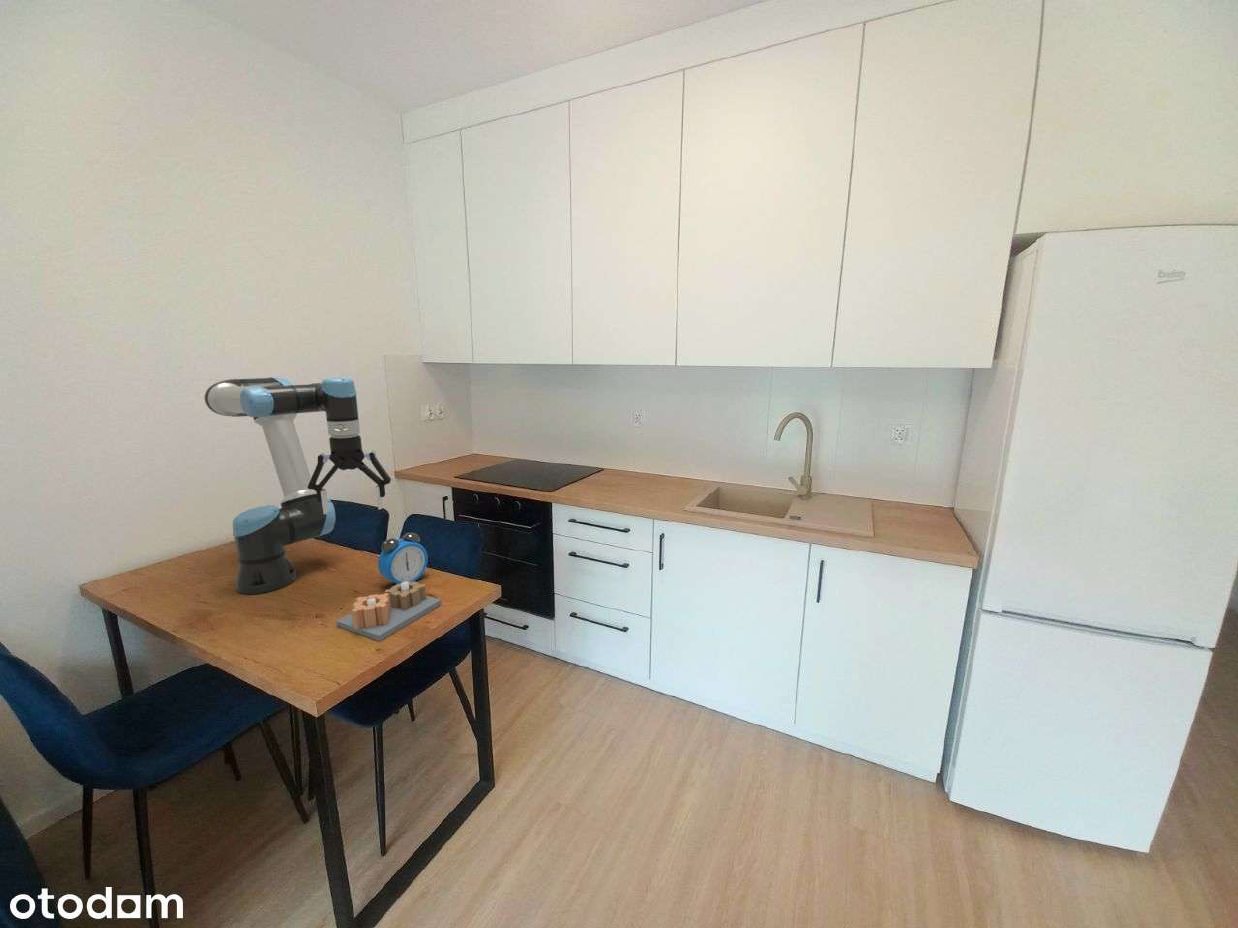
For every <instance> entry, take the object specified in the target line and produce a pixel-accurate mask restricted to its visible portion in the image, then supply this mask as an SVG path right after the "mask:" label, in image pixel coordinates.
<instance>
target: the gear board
mask: <svg viewBox="0 0 1238 928" xmlns="http://www.w3.org/2000/svg"><path fill="white" fill-rule="evenodd" d="M385 593H388V594H390V601H391V610H392V611H391V612H390V613H391V615H390V619H389V623H388V624H386V625H382V624H381V625H377V626H376V627H370V628H366V627H364V628H360V629H358V630H357V629H354V626H353V618H352V612H351V613H349V614H347V615H345V616H343V617H342V618H339V619H337V620H336V621H335V623H336V627H338V628H341V629H343V630H347V631H349V632H351V633H355V634H358V635H360V636H364V637H366V638H369V639H372V640H374V641H377V642H381V641H383V640H384V639H386V638H388V637H389V636H391V635H392V634H395V633H396V632H398V631H400V630H401V629H403V628H404V627H406V626H408V625H410V624H411V623H413V622H415V621H416V620H418V619H420V618H421V617H422V618H423V616H425V615H426V614H429V612H432V611H433V610H435V609H437V608H438V607H440V606H441V605H442V599H439V598H437V597H434V596H433V597H432V596H429V595H427V592H426V584H425V583H423V584H421V583H420V582H417V581H413V582H411V581H410V582H409V580H406V581H404V582H402V583H401V584H395V585H393V586H391V587H390V588H389V589H385V591H384V594H385ZM374 604H376V599H375V598H370V599H368V600H367V606H370V605H374Z"/></svg>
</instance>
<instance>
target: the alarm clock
mask: <svg viewBox="0 0 1238 928" xmlns="http://www.w3.org/2000/svg"><path fill="white" fill-rule="evenodd" d="M420 541H421V539H420V536H419V535H418V534H417V533H416V532H414V531H413V532H407V533H405V534H404V535H403V536H402V537H399V538H398V539H397V538H394V537H393V538H392V537H391V538H387V539H386V540H385V541H383V543H382V545H381V552H380V554H379V557H378V562H377V565H378V567H377V569H378V571H379V573H380V575H381V576H382V577H383V578H384V579H386V580H387V581H390V582H391V583H394V584H395V585H397V584H401V583H402V582H404V581H406V580H409V582H410V581H411V582H413V581H414V582H417V580H420V578H421V576H423V574H424V573H425V570H426V568H427V566H428V560H429V558H428V552H427V550H426V549H425V547H424V546H423V545H421V544H420Z"/></svg>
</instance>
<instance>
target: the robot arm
mask: <svg viewBox="0 0 1238 928" xmlns="http://www.w3.org/2000/svg"><path fill="white" fill-rule="evenodd" d="M203 397H204V403H205V405H206V407H207V409H209V410H210V411H211V412H213V413H214V414H217V415H220V416H225V417H232V418H233V417H235V418H236V417H241V418H242V417H249V418H253V421H254V423H255V424H257V425H259V426H261V427H262V431H263V434H264V436H265V437H264V438H265V441H266V443H267V447H268V449H269V453H270V455H271V459H272V462H273V465H274V469H275V471H276V475H277V477H278V478H277V479H278V481H279V484H280V488H281V491H282V494H283V499H282V500H281V501H280V506H281V508H280V507H278V506H277V505H274V504H269V505H264V506H263V505H262V506H257V507H253V508H251V509H246V510H245V511H242V512H241V513H239V514H237V515H236V516H235V517H234V518H233V519H232V535H233V536H234V542H235V546H236V551H237V552H236V553H237V557H238V563H239V566H238V571H237V573H236V574H237V575H236V580H235V589H236V591H237V593H239V594H243V595H256V594H263V593H269V592H273V591H276V590H279V589H281V588H285V587H286V586H288V585H290V584H292V583H293V582H294V581H295V580H296V579H297V571H296V569H295V567H294V565H293V564H292V562H291V560H290V559H289V558H288V557H289V556H288V555H287V553H286V552H287V551H286V546H289V545H293V544H295V543H296V544H297V543H300V542H303V541H307V540H310V539H314V538H316V539H317V538H319V537H320V536H325V535H327V534H329V533H331V532H332V531H333V529H334V528H335V523H336V509H335V506H334V504H333V502H332V500H331V499H330V498H328V494H327V493H328V492H327V488H324V486H325V485H326V484H327V483H328V481H330V479H331V477H333V475H334V474H335V473H336V472H337V471H338V470H341V471H345V470H350V471H352V470H356V469H358V470H359V471H361V472H362V473H363V474H365V475H366V477H368V478H369V479H370V480H372V482H374V483H375V484H376V487H375V490H376V492H375V493H376V501H377V508H378V509H377V510H382V509H383V508H384V507H383V498H385V496H386V489H385V486H386V485H388V484H389V485H390V483H391V482H392V481H391V480H392V478H391V477H390V475H389V474H388V472H387V471H386V469H385V468H384V467H383V465H382V464H381V463H380V461H379V460H378V457H377V454H376V451H374V450H371V451H370V452H365V453H364V451H363V447H362V446H363V445H362V437H361V436H360V435H359V434H360V433H361V429H360V428H361V427H360V419H359V413H358V412H359V411H358V404H357V403H358V400H357V390H356V387H355V382H354V379H352V378H351V377H327V378H326V377H325V378H323V379H322V381H321V382H317V383H316V382H315V383H309V384H293V383H292V382H291V381H290V380H288V379H287V378H285V377H269V376H268V377H260V378H259V377H257V378H233V379H225V380H221V381H218V382H215V383H214V384H212V385H210V386H209V387H208V388H207V389H206V390H205V392H204V396H203ZM317 412H325V415H326V416H325V417H326V418H325V419H326V424H327V433H328V434H327V435H329V436H330V437H329V438H328V440H329V441H328V442H329V447H330V448H329V449H330V454H325V453H320V454H319V455H318V456H317V464H316V466H315V469H314V471H313V473H312V476H311V473H310V470H309V467H308V464H307V461H306V458H305V455H304V452H303V448H302V446H301V442H300V439H299V435H298V432H297V429H296V426H295V422H294V420H295V419H296V418H297V416H298V415H297V414H306V413H308V414H309V413H317ZM365 458H366V459H367V460H368V461H370V462H371V464H372V465H373V467H374V468H375V470H376V472H377V473H378V474H379V476H380V477H379V476H378V474H376V473H375V472H374V471H373V470H372V469H370V468H369V466H367V465H366V463H365V462H363V460H364V459H365ZM329 460H330V461H331V462H332V463H333V466H332V468H331V469H330V470H329V471H328V472H327V473H326V475H325V476H324V477H323V479H322V480H321V481H320V482H319V484H317V482H318V479H319V477H320V476H321V475H320V474H321V473H322V470H323V468H324V466H325V464H326V463H327V462H328V461H329Z"/></svg>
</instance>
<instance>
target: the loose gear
mask: <svg viewBox="0 0 1238 928" xmlns="http://www.w3.org/2000/svg"><path fill="white" fill-rule="evenodd" d="M370 598H375V599H376V604H374V605H370V606H367V600H368V599H370ZM391 611H392V610H391V601H390V594H388V593H385V592H384V593H381V594H377V593H376V594H371V595H367V596H358V597H357V598H355V601H354V603H353V605H352V609H351V610H350V612H351V613H352V618H353V626H354V629H357V630H358V629H360V628H364V627H366V628H370V627H376V626H377V625H381V624H382V625H386V624H388V623H389V619H390V615H391V613H390V612H391Z"/></svg>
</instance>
